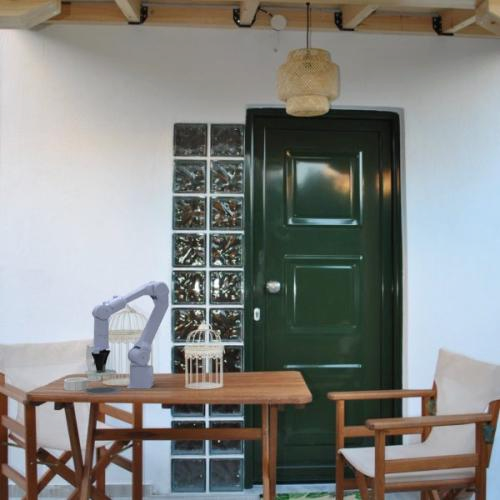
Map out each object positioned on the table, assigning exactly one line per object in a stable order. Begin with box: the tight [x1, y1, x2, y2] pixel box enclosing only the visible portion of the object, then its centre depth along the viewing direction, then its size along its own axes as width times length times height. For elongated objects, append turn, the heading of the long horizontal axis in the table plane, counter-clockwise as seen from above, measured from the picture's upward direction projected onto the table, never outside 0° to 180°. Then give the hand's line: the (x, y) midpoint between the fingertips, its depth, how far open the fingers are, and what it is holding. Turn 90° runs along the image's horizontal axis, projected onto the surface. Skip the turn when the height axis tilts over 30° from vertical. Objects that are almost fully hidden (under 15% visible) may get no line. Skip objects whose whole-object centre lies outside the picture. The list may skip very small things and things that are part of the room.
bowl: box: [63, 377, 89, 392], centre depth 259 cm, size 9×9×4 cm
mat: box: [82, 386, 124, 395], centre depth 256 cm, size 13×13×1 cm
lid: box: [84, 363, 117, 377], centre depth 256 cm, size 12×12×3 cm
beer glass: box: [85, 344, 102, 382], centre depth 278 cm, size 7×7×15 cm
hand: (100, 369), depth 256 cm, fingers closed on lid, 4 cm apart
